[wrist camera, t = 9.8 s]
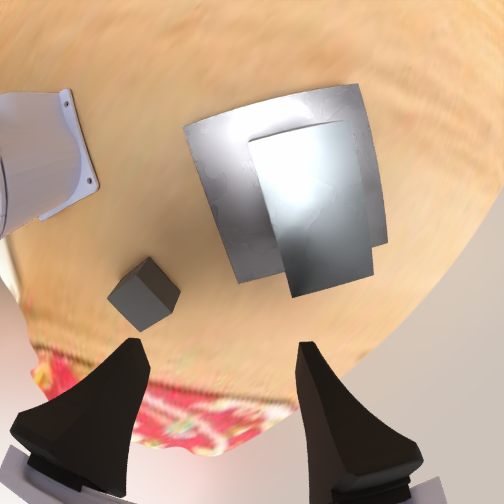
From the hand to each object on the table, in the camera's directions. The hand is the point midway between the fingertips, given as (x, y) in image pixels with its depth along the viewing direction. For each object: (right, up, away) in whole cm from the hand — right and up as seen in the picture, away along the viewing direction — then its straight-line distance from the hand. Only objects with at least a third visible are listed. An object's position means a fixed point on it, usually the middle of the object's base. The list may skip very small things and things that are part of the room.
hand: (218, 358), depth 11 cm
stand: (+4, +10, +7) cm, 13 cm away
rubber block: (-7, +2, +11) cm, 13 cm away
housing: (+4, +9, +5) cm, 11 cm away
